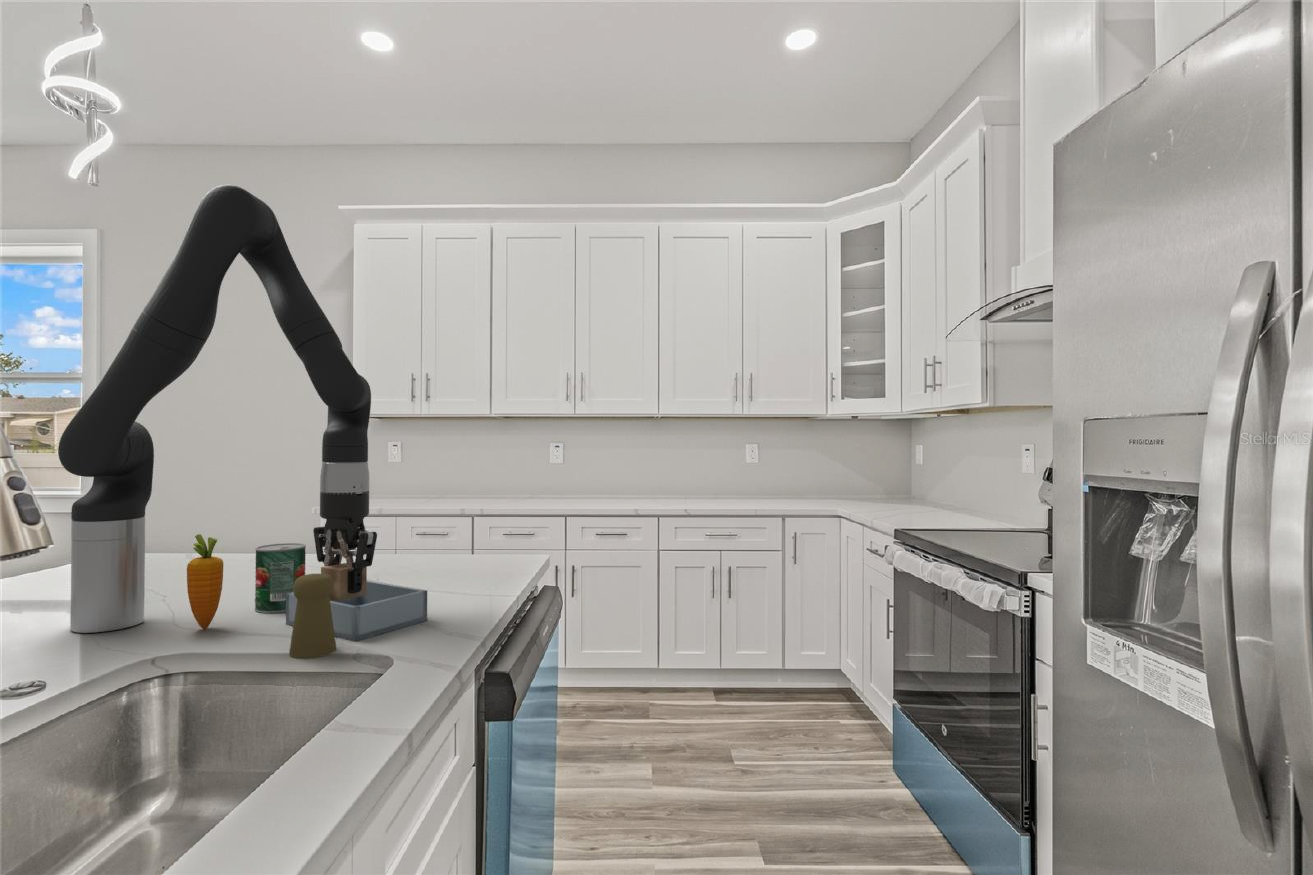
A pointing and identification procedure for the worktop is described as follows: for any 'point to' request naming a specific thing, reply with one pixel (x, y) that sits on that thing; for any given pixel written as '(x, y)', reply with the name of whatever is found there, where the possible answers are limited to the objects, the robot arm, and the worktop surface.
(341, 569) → the walnut cube
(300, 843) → the worktop surface
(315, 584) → the cork
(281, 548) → the canned tomato
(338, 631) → the tote
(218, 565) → the carrot
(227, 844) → the worktop surface
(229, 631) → the worktop surface
